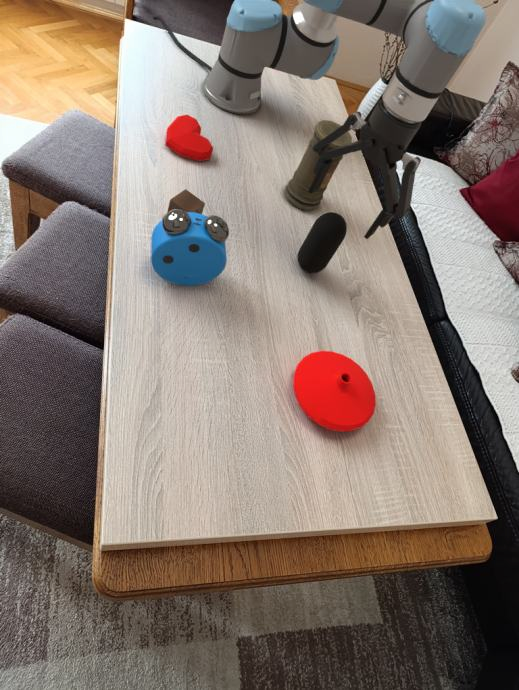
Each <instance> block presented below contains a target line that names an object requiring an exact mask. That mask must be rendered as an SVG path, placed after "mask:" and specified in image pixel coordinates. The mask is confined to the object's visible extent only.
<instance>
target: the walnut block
mask: <svg viewBox="0 0 519 690" xmlns="http://www.w3.org/2000/svg"><path fill="white" fill-rule="evenodd" d="M205 206H206V203H205V202H204V201H203V200H202V199H200V198H199V197H198V196H197V195H194V193H192V192H191V191H189V190H188V189H187V188H185V189H184V190H182V191H181V192H179V193H178V194H175V196H173V197H172V198H170V199H169V202H168V207H167V211H166V213H168V212H169V211H171V210H174V209H181V210H184V211H186V212H193V213H199V214H202V215H203V212H204V209H205Z"/></svg>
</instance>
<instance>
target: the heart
mask: <svg viewBox="0 0 519 690" xmlns="http://www.w3.org/2000/svg"><path fill="white" fill-rule="evenodd" d="M201 133H202V127H201V125H200V124H199V122H198V120H197V119H196V118H195V117H193V116H191V115H189V114H182V115H178V116H177V117H175V119H174V120H173V121H172V122H171V123H170V124H169V126H168V127H166V134H165V137H166V138H165V147H166V148H168V149H170V150H171V151H173V152H174V153H176V154H177V155H179V156H180V157H183V158H186V159H191V160H195V161H198V162H202V161H207V160H211V157H212V154H213V151H214V146H213V145H212V143H211V142H210V140H209V139H208V138H206V137H205V136H203V135H201Z"/></svg>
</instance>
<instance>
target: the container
mask: <svg viewBox="0 0 519 690" xmlns="http://www.w3.org/2000/svg"><path fill="white" fill-rule="evenodd" d="M341 126H342V125H341V124H340V123H338V122H335V121H333V120H327V119H324V120H323V119H322V120H320V121H318V122H317V123H316V124H315V126H314V131H313V135H312V138H311V139H310V140H309V142H308V145H307V147H306V149H305V152H304V154H303V156H302V157H301V159H300V162H299V164H298V166H297V168H296V169H295V171H294V173H293V175H292V178H291V179H290V180H288V182H287V184H286V185H285V188H284V197H285V199H286V200H287V201H288V202H289V204H290V205H292V206H293V207H295V208H297V209H299V210H302V211H308V212H309V211H315V210H316V209H317V208H319V207H320V206H321V202H322V200H323V199H324V193H325V192H326V190H327V189H328V185H329V183H330V181H331V180H332V177H333V176H334V173H335V172H336V170H337V168H338V166H339V164H340V163H341V161H342V160H343V158H344V155H341V156H338V157H335V158H331V159H332V160H333V163H332V165H331V166H330V168H329V170H328V172H327V174H326V176H325V178H324V180H323V182H322V184H321V186H320V188H319V189H318V190H316V191H315V192H313V193H312V194H311V193H310V192H308V191H309V189H310V187H311V185H312V183H313V181H314V179H315V177H316V174H314V173H313V170H314V168H315V166H316V164H317V162H318V160H319V154H318V153H317V152H315V151H314V150H313V146H314V145H315V144H317V143H318V142H320V141H321V140H322V139H324V138H325V137H327V136H328V135H329V134H331V133H332V132H334V131H335V130H337V129H338V128H339V127H341ZM350 143H353V138H352V135H351V133H350V131H348V132H347V133H345V134H344V135H342V136H341V137H339V138H338V139H336V140H335V141H334V142H332V143H331V144H329V145H328V146H326V147H327V149H328V150H329V149H334V148H337V147H340V146H343V145H346V144H350Z"/></svg>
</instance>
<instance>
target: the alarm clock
mask: <svg viewBox="0 0 519 690" xmlns="http://www.w3.org/2000/svg"><path fill="white" fill-rule="evenodd" d="M229 235H230V228H229V226H228V223H227V222H226V220H225V219H223V217H221V216H219V215H215V214H211V215H209V216H207V215H205V214H203V213H202V214H199V213H193V212H186V211H184V210H181V209H174V210H171V211H169V212H168V213H167V212H166V213H165V214H164V216H163V217H162V219H161V220H160V221H159V222H158V223H157V224H156V225H155V226H154V228H153V230H152V233H151V238H150V239H151V241H150V243H151V246H150V263H151V266H152V268H153V270H154V272H155V273H156V274H157V275H158V276H159V277H160V278H161V279H162V280H164V281H167V282H169V283H171V284H174V285H178V286H185V287H186V286H187V287H189V286H190V287H193V286H199V285H204V284H207V283H210V282H211V281H213V280H215V279H216V278H218V276H220V275H221V274H222V272H224V270H225V267H226V265H227V262H228V261H227V260H228V259H227V247H226V241H227V239H228V238H229Z"/></svg>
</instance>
